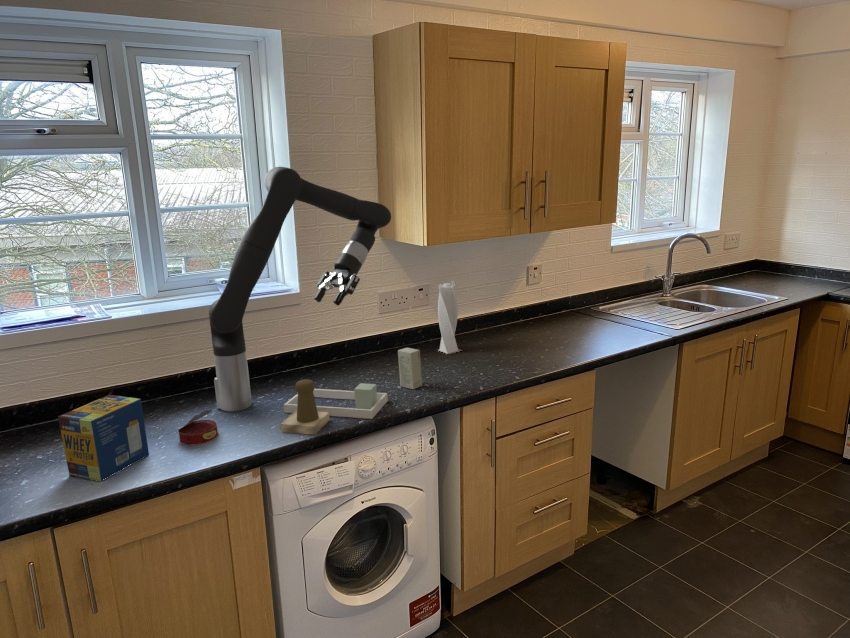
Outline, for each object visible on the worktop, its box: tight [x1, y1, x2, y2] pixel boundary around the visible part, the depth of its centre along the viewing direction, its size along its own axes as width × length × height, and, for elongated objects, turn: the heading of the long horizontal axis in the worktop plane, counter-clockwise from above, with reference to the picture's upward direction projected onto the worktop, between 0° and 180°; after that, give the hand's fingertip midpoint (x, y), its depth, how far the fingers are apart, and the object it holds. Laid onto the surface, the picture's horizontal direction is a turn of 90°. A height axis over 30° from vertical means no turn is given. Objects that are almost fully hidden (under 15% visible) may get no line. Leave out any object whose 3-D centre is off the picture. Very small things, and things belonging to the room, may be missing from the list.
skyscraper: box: [437, 279, 463, 355], centre depth 234 cm, size 8×8×28 cm
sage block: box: [353, 382, 378, 410], centre depth 183 cm, size 5×5×7 cm
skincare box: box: [397, 347, 423, 390], centre depth 200 cm, size 6×4×12 cm
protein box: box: [57, 394, 150, 482], centre depth 152 cm, size 10×15×16 cm
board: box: [279, 410, 331, 436], centre depth 173 cm, size 10×10×2 cm
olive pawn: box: [294, 378, 319, 423], centre depth 171 cm, size 6×6×11 cm
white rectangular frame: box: [283, 388, 388, 420], centre depth 186 cm, size 27×14×2 cm, turn 75°
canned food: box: [177, 409, 219, 446], centre depth 168 cm, size 11×10×10 cm
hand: (326, 302), depth 186 cm, fingers open, 8 cm apart
